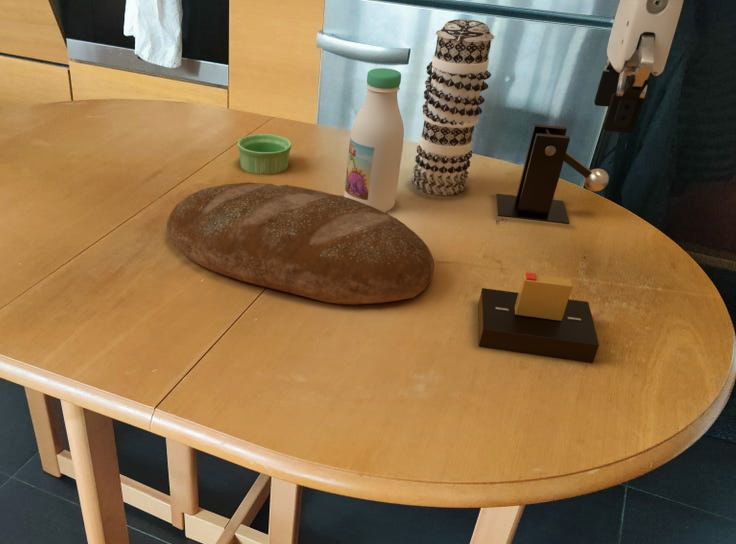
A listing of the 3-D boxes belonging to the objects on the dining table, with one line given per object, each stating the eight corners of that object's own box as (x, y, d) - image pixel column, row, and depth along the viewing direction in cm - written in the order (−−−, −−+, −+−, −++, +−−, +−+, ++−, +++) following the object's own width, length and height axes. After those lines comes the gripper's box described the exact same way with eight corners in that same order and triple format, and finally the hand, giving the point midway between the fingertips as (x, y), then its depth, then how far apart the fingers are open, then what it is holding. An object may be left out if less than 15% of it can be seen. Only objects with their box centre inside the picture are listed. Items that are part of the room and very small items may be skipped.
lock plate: (581, 323, 84) (588, 300, 83) (591, 367, 77) (600, 343, 76) (477, 308, 87) (482, 286, 85) (477, 351, 80) (483, 327, 78)
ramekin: (267, 154, 126) (268, 130, 124) (301, 170, 121) (302, 144, 118) (227, 166, 122) (226, 140, 119) (260, 183, 116) (260, 156, 114)
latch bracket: (561, 207, 110) (585, 125, 103) (566, 230, 104) (593, 144, 97) (494, 200, 112) (513, 118, 105) (496, 222, 106) (516, 137, 98)
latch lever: (594, 190, 105) (611, 173, 104) (597, 199, 103) (615, 182, 101) (531, 143, 104) (548, 125, 102) (533, 150, 101) (550, 132, 99)
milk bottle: (388, 196, 113) (406, 64, 101) (398, 218, 107) (419, 79, 95) (339, 197, 112) (351, 64, 100) (347, 219, 106) (362, 79, 94)
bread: (399, 337, 81) (409, 273, 76) (132, 260, 95) (126, 201, 90) (451, 257, 97) (462, 199, 92) (215, 200, 111) (214, 147, 106)
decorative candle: (422, 206, 110) (451, 31, 95) (399, 182, 117) (423, 17, 102) (476, 201, 112) (513, 29, 97) (450, 178, 119) (481, 15, 104)
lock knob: (560, 313, 80) (571, 277, 78) (561, 321, 79) (573, 284, 76) (514, 307, 81) (524, 271, 78) (514, 314, 80) (525, 278, 77)
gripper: (722, -32, 67) (658, 146, 78) (684, -54, 81) (634, 100, 91) (636, -36, 69) (585, 138, 79) (614, -57, 82) (572, 94, 93)
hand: (612, 118), depth 85 cm, fingers open, 9 cm apart
